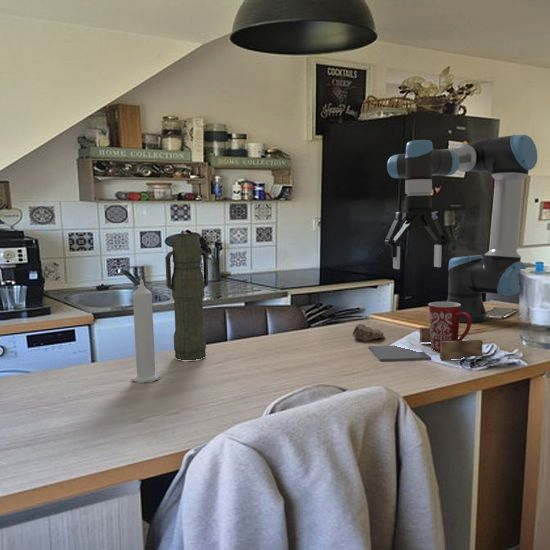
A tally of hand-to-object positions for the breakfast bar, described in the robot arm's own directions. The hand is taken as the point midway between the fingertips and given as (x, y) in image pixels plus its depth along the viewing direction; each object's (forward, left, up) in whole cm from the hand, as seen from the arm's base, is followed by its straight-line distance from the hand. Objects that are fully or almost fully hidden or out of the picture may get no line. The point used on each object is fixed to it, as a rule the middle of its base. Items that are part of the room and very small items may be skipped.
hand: (417, 267), depth 163 cm
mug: (-7, +8, -24) cm, 26 cm away
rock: (+12, -11, -24) cm, 29 cm away
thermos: (+67, +6, -24) cm, 71 cm away
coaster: (+8, +9, -23) cm, 26 cm away
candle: (+76, +25, -24) cm, 83 cm away
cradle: (-7, +8, -23) cm, 26 cm away
